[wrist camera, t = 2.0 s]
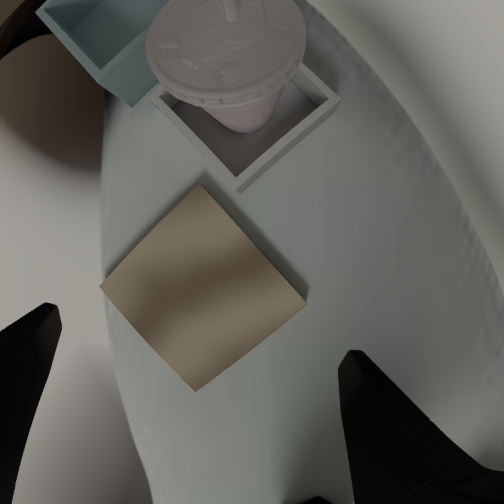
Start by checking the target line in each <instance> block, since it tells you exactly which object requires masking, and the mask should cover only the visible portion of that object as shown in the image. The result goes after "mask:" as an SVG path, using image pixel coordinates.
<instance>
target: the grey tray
mask: <svg viewBox="0 0 504 504" xmlns="http://www.w3.org/2000/svg"><path fill="white" fill-rule="evenodd" d="M290 80H291V81H292V82H293V83H294V84H296V85H297V86H298V87H299V88H300V89H301V90H302V91H303V92H304V93H305V94H306V95H307V96H308V97H309V98H310V99H311V100H312V101H313V102H314V103H315V104H316V105H317V106H318V108H317V109H316V110H314V111H313V112H312V113H311V114H309V115H308V116H307V117H306V118H305V119H303V120H302V121H301V122H300V123H299V124H297V125H296V126H295V127H294V128H293V129H291V130H290V131H289V132H288V133H287V134H285V135H284V136H283V137H282V138H281V139H280V140H278V141H277V142H276V143H275V144H274V145H273V146H271V147H270V148H269V149H268V150H267V151H266V152H265V153H263V154H262V155H261V156H260V157H259V158H258V159H256V160H255V161H254V162H253V163H252V164H251V165H250V166H249V167H247V168H246V169H245V170H244V171H243V172H242V173H241V174H240V175H239V176H237V177H235V176H234V175H233V174H232V173H231V172H230V170H229V169H228V168H227V167H226V166H225V165H224V164H223V163H222V162H221V161H220V160H219V159H218V158H217V157H216V155H215V154H214V153H213V152H212V151H211V150H210V149H209V148H208V147H207V146H206V145H205V144H204V143H203V142H202V141H201V140H200V139H199V138H198V136H197V135H196V134H195V133H194V132H193V131H192V130H191V129H190V128H189V127H188V126H187V125H186V124H185V123H184V122H183V121H182V120H181V119H180V118H179V117H178V116H177V115H176V114H175V113H174V112H173V111H172V110H171V108H172V107H173V106H174V105H175V104H176V103H177V102H179V101H180V99H177V98H176V97H174V96H173V95H172V94H171V93H169V92H168V91H167V90H166V89H164V88H163V87H162V85H161V86H160V87H158V88H157V89H156V90H155V91H154V92H153V93H152V94H151V95H150V96H149V97H148V98H149V99H150V100H151V101H152V102H153V103H154V104H155V105H156V106H157V107H158V108H159V109H160V110H161V111H162V112H163V114H164V115H165V116H166V117H167V118H168V119H169V120H170V121H171V122H172V123H173V124H174V125H175V126H176V127H177V128H178V129H179V130H180V131H181V132H182V133H183V135H184V136H185V137H186V138H187V139H188V140H189V141H190V142H191V143H192V144H193V145H194V146H195V147H196V148H197V149H198V150H199V152H200V153H201V154H202V155H203V156H204V157H205V158H206V159H207V160H208V161H209V162H210V163H211V164H212V165H213V167H214V168H215V169H216V170H217V171H218V172H219V173H220V174H221V175H222V176H223V177H224V178H225V180H226V181H227V182H228V183H229V184H230V185H231V186H232V187H233V188H234V189H235V190H236V191H237V192H238V193H241V192H243V191H244V190H245V189H246V188H247V187H248V186H249V185H250V184H251V183H253V182H254V181H255V180H256V179H257V178H258V177H259V176H260V175H262V174H263V173H264V172H265V171H266V170H267V169H268V168H270V167H271V166H272V165H273V164H274V163H275V162H276V161H278V160H279V159H280V158H281V157H282V156H283V155H284V154H286V153H287V152H288V151H289V150H290V149H291V148H293V147H294V146H295V145H296V144H297V143H298V142H300V141H301V140H302V139H303V138H304V137H305V136H307V135H308V134H309V133H310V132H311V131H313V130H314V129H315V128H316V127H317V126H319V125H320V124H321V123H322V122H323V121H325V120H326V119H327V118H328V117H329V116H331V115H332V114H333V113H334V112H335V110H336V108H337V106H338V105H339V103H340V101H341V99H340V98H339V97H338V96H337V95H336V94H335V93H334V92H333V91H332V90H331V89H330V88H329V87H328V86H327V85H326V84H325V83H324V82H323V81H322V80H321V79H319V78H318V77H317V76H316V75H315V74H314V73H313V72H312V71H311V70H310V69H309V68H308V67H306V66H305V65H304V64H303V63H301V64H300V66H299V68H298V69H297V71H296V73H295V74H294V76H293V77H292V78H291V79H290Z"/></svg>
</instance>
